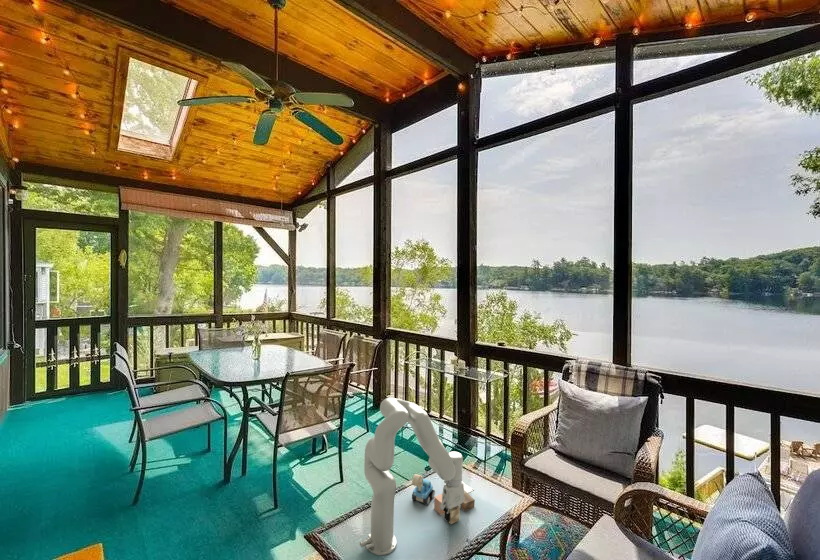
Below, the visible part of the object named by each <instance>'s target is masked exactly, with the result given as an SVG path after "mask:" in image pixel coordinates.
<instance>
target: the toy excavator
mask: <svg viewBox="0 0 820 560" xmlns="http://www.w3.org/2000/svg"><path fill="white" fill-rule="evenodd" d="M411 485H412V486H414V487H415V488H414V489H413V491H412V494H411V500H413V501H415V502H416V501H418V502H420V503H423V504H424V505H427V506H428V505H429V504H430V501H431V500H433V499H434V498H435V494H436V491H435V489H434V488H433V487H434V486H433V484H432V482H431V481H430V480H429V479H426V478H423V476H422V475H420V474H417V473H414V475H413V477H412V480H411Z"/></svg>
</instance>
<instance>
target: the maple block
mask: <svg viewBox="0 0 820 560" xmlns="http://www.w3.org/2000/svg"><path fill="white" fill-rule="evenodd" d="M446 509H448V508H446ZM460 512H461V508H459V507H458V506H456V507H453V508H451V509H450V511H449V513H450V522H448V523H449V524H450V525H453V524H455V523H457V522H460V514H461V513H460ZM444 513H445V511H444Z"/></svg>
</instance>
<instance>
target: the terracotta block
mask: <svg viewBox="0 0 820 560" xmlns="http://www.w3.org/2000/svg"><path fill="white" fill-rule="evenodd" d="M442 494H443V492H442V493H440V494H438V495H436V496H434V498H433V501H434V502H433V509H434V510H435V511H436V512H437V513H438V514H439V515H444V511H443V510H441V509H440V508H439V507H440V505H441V503H442Z"/></svg>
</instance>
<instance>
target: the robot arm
mask: <svg viewBox="0 0 820 560" xmlns="http://www.w3.org/2000/svg"><path fill="white" fill-rule="evenodd" d="M379 410H380V414H381V415H382V416H383V417H384V419H383V420H382V421H381V422H380V423H379V424H378V425H377V426H376V429H375V432H374V436H373V437H372V438H370V439H369V440H368V442H367V443H366V445H365V448H364V461H363V462H364V466H363V467H364V477H365V479H366V480H367V481H366V482H368V484H369V486H370V487H371V490H372V493H373V495H372V498H371V503H370V533H369V534H368V535H367V538H366V539H365V540H361V541H360V542H359V546H360V548H364V547H365V550H368V551H369V552H370V553H371V554H373V555H377V556H386V555H387V556H388V555H389V554H391V553H393V552H394V551H395V549H396V548H397V545H398V543H397V537H396V536H395V534H394V522H395V521H394V518H395V516H394V515H395V514H394V512H395V511H394V510H395V497H396V491H397V481H396V479H395V477H394V475H393V474H392V472H391V471H390V470H391V468H393V465H394V461H395V439H396V435H397V433H398V431H400V430H401V429H402V428H403V427H404V426H405V425H406V424H409V425H410V427H411V428H412V430H413V433H414V434H415V437H416V439H417V441H418V443H419V445H420V447H421V448H422V449H423V451H424V452H425V454H427V456H428V457H429V458H428V466H429V467H430V468H431V469H432V471H433V472H434V473H436V474H437V476H438V477H439V478H440V479H441V480H442V481H443V484H444V485H443V488H442V493H443V494H442V493H441V494H442V503H441V505H440V507H439V508H440V509H441V510H443V511H445V513H444V514H443V518H444V520H445V521H446V522H448V523H449V522H450V513H449V511H450V509H451V508H453V507H456V506H458V507H459V508H460V509H462V508H461V504H462V503H463V502H464V499H465V497H464V486H463V482H464V481H463V464H464V456H463V455H462V453H460V452H458V451H455V450H453V451H452V450H451V451H449V452H448V450H447V449H446V447H445V446H444V444H443V442H442V440H441V439H440V438H439V436H438V434H437V431H436V429H435V428H434V425H433V423H432V420H431V418H430V416H429V415H428V413H427V411H426V410H424V409H423V408H422V407H420V406H419V405H418V404H417V403H415V402H412V401H408V400H404V399H400V398H397V397H396V398H395V397H393V396H392V397H391V396H389V397H386V398H385V399H383V400H382V401H381V402H380V406H379ZM462 481H463V482H462ZM446 508H448V509H446Z"/></svg>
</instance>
